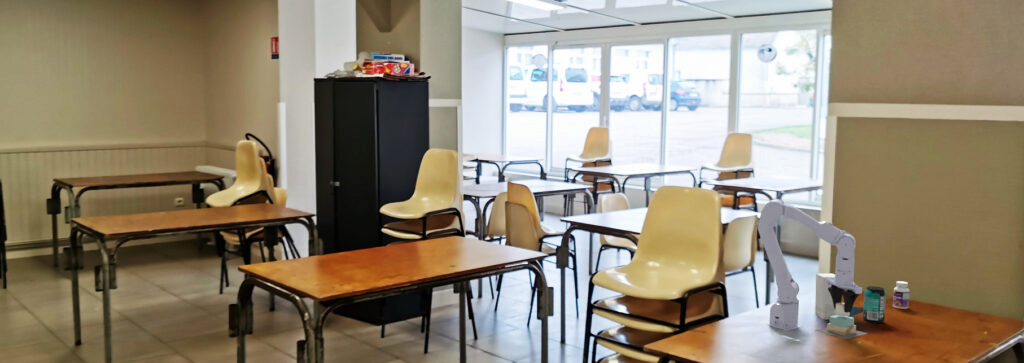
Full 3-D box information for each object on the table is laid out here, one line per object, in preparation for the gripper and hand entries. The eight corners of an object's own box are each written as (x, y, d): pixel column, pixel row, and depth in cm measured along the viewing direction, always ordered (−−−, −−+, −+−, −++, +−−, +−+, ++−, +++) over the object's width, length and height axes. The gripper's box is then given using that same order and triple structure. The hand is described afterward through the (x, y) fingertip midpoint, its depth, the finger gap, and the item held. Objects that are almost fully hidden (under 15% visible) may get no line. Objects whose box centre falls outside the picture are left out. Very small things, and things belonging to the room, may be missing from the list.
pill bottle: (889, 306, 316) (891, 281, 315) (900, 305, 318) (902, 280, 317) (900, 309, 311) (901, 284, 310) (911, 308, 313) (913, 283, 312)
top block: (844, 327, 273) (844, 320, 273) (829, 323, 278) (829, 316, 277) (853, 325, 276) (854, 318, 276) (839, 321, 281) (839, 314, 281)
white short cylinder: (844, 316, 274) (845, 306, 273) (832, 313, 277) (833, 303, 277) (852, 314, 276) (852, 304, 276) (840, 312, 280) (840, 301, 279)
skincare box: (840, 320, 293) (842, 277, 292) (821, 320, 293) (823, 277, 292) (831, 314, 302) (833, 272, 300) (813, 314, 302) (815, 272, 300)
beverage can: (880, 319, 297) (882, 286, 295) (887, 324, 290) (889, 290, 288) (860, 318, 297) (861, 285, 296) (866, 323, 290) (868, 290, 289)
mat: (846, 340, 269) (846, 339, 269) (814, 331, 279) (814, 330, 279) (867, 334, 276) (867, 333, 276) (835, 326, 286) (835, 325, 286)
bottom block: (844, 335, 273) (844, 328, 272) (826, 331, 278) (827, 323, 278) (855, 332, 276) (856, 325, 276) (838, 328, 282) (838, 321, 281)
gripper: (870, 273, 270) (868, 314, 271) (838, 265, 283) (836, 304, 285) (853, 275, 267) (850, 316, 269) (822, 266, 281) (820, 305, 282)
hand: (842, 310), depth 276 cm, fingers closed on white short cylinder, 4 cm apart
